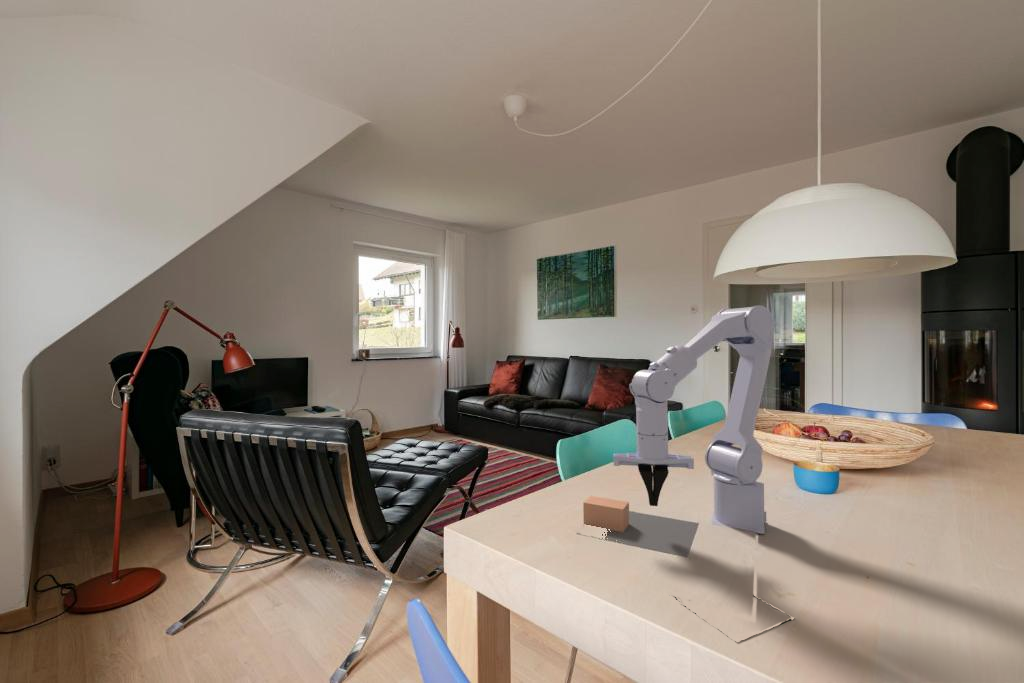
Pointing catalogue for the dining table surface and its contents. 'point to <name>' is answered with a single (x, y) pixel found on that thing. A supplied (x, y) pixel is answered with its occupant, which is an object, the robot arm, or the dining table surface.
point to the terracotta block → (606, 513)
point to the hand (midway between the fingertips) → (653, 504)
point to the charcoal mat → (656, 534)
